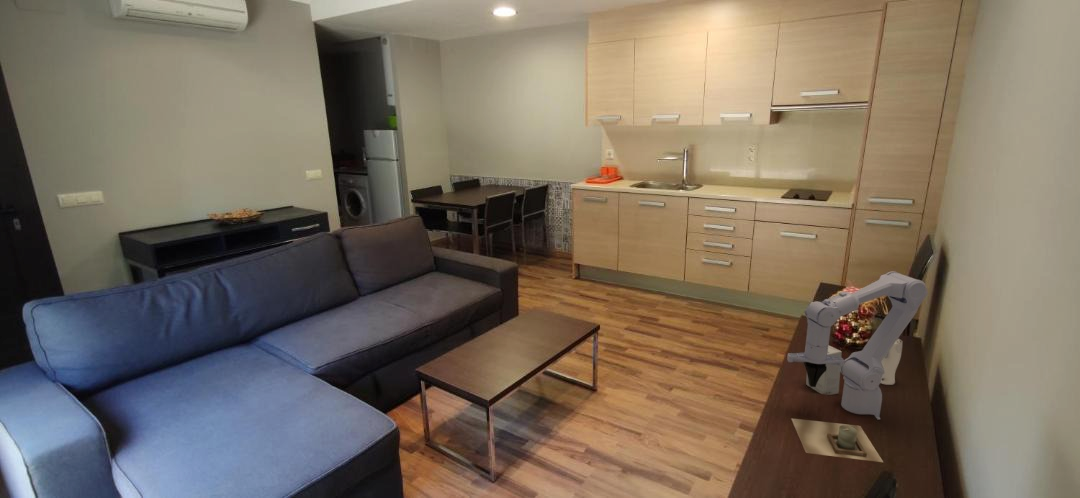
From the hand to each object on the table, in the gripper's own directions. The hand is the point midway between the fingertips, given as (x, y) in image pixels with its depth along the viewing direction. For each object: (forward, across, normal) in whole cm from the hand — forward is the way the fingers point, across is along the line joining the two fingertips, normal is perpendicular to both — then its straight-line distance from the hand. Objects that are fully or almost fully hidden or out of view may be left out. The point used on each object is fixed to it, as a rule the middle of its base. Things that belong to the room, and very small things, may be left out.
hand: (812, 385), depth 145 cm
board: (+10, -3, +13) cm, 17 cm away
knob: (+9, -5, +16) cm, 19 cm away
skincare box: (+10, -8, -17) cm, 21 cm away
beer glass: (+10, -30, -27) cm, 42 cm away
